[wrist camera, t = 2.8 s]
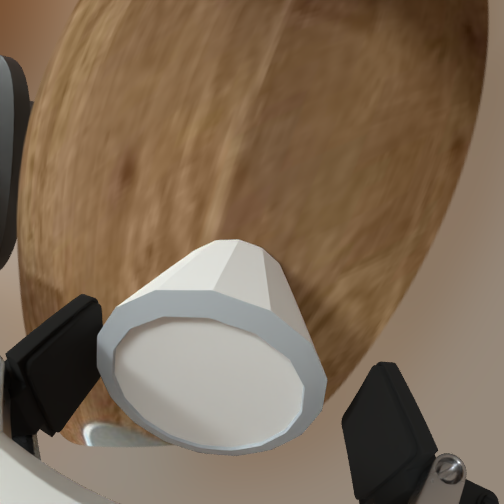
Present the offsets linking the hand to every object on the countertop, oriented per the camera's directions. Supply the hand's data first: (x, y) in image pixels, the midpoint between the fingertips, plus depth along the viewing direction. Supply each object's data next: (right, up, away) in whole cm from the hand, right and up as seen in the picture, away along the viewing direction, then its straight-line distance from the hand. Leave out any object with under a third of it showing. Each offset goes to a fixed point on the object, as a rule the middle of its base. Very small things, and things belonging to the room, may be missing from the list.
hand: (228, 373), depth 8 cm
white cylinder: (0, +2, +5) cm, 6 cm away
